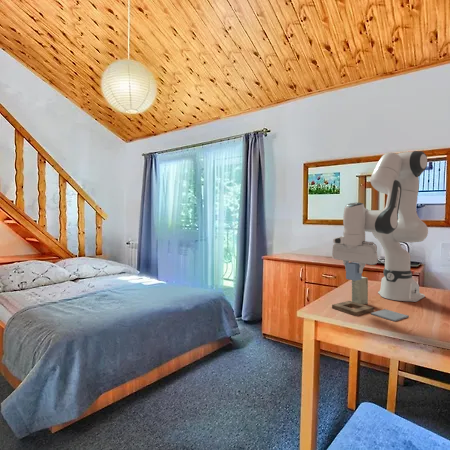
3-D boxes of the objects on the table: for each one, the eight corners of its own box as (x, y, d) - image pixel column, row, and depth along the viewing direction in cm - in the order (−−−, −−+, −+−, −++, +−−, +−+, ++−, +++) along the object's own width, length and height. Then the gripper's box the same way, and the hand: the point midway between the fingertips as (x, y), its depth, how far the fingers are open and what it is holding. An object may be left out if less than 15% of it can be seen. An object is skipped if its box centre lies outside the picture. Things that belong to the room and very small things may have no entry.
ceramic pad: (384, 310, 134) (384, 309, 134) (408, 317, 125) (408, 315, 125) (370, 314, 129) (370, 312, 129) (394, 321, 120) (394, 320, 120)
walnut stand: (349, 303, 143) (349, 300, 143) (373, 311, 133) (373, 307, 133) (332, 308, 137) (332, 304, 137) (355, 315, 127) (356, 312, 127)
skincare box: (368, 304, 143) (368, 278, 143) (360, 304, 142) (360, 278, 141) (358, 300, 149) (359, 275, 149) (350, 301, 148) (351, 275, 148)
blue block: (352, 277, 138) (352, 261, 137) (361, 279, 134) (361, 263, 134) (345, 278, 135) (346, 263, 135) (355, 280, 132) (355, 264, 131)
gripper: (381, 241, 127) (380, 275, 127) (339, 238, 144) (339, 267, 145) (371, 242, 123) (371, 277, 124) (330, 239, 141) (330, 269, 141)
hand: (353, 271), depth 135 cm, fingers closed on blue block, 4 cm apart
